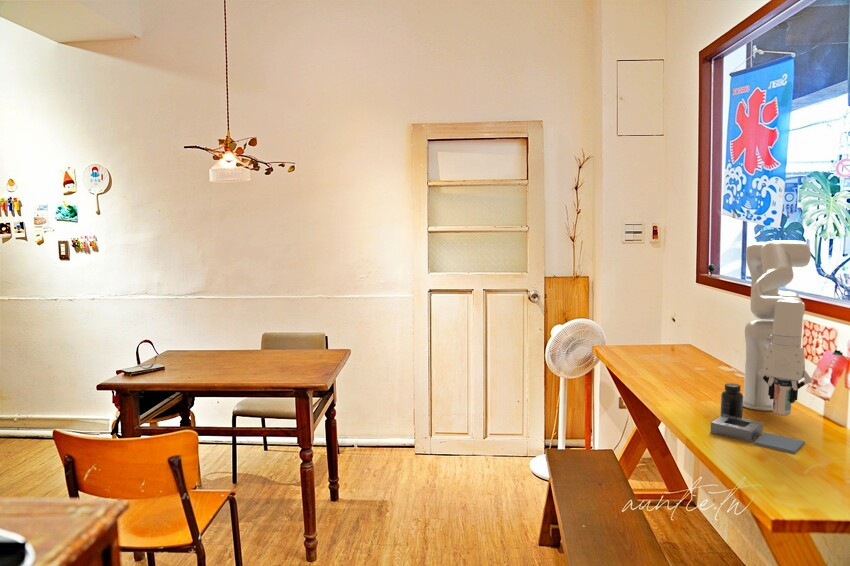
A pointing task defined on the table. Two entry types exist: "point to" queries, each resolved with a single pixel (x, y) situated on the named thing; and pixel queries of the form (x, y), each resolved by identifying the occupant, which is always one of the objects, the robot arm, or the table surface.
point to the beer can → (782, 397)
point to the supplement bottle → (732, 400)
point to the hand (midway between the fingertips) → (782, 399)
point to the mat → (779, 442)
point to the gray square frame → (736, 428)
